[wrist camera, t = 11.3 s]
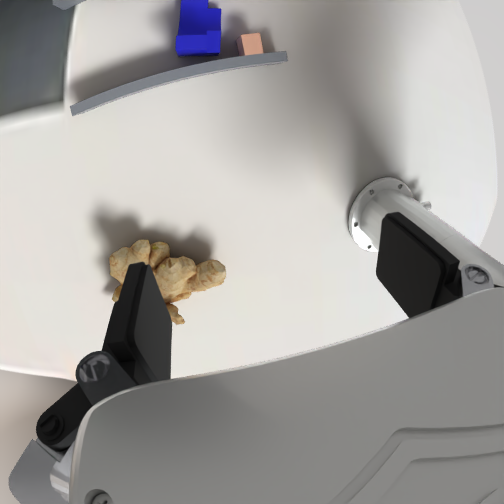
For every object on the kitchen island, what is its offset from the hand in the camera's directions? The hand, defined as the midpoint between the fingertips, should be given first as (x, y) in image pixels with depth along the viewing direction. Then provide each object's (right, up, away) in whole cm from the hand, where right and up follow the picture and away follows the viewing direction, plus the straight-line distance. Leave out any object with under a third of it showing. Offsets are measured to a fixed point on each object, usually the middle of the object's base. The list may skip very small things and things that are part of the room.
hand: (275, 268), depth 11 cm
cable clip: (-7, +28, +13) cm, 32 cm away
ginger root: (-15, -3, +30) cm, 34 cm away
